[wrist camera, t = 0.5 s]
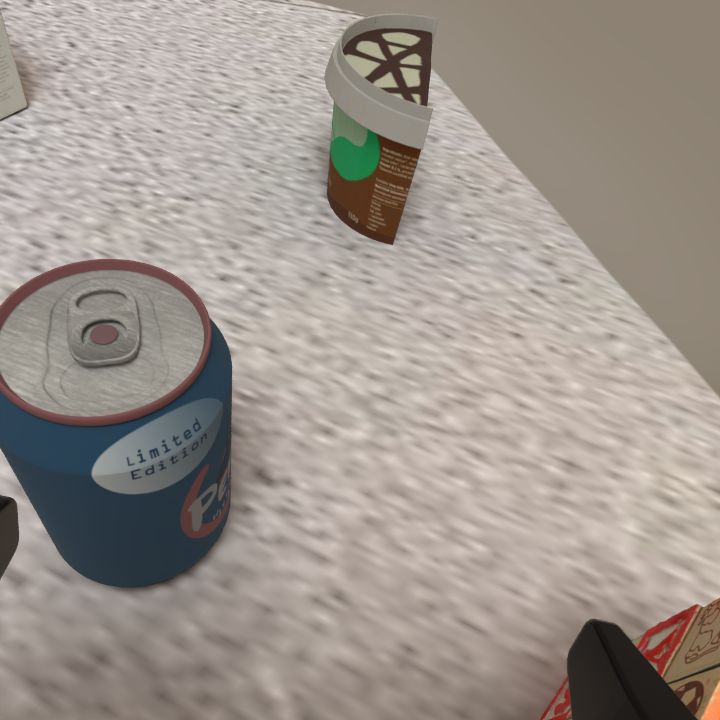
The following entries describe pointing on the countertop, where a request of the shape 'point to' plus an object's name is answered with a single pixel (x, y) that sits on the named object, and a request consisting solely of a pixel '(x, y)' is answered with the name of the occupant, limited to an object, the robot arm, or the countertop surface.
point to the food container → (378, 118)
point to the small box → (9, 78)
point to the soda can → (118, 417)
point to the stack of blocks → (676, 661)
